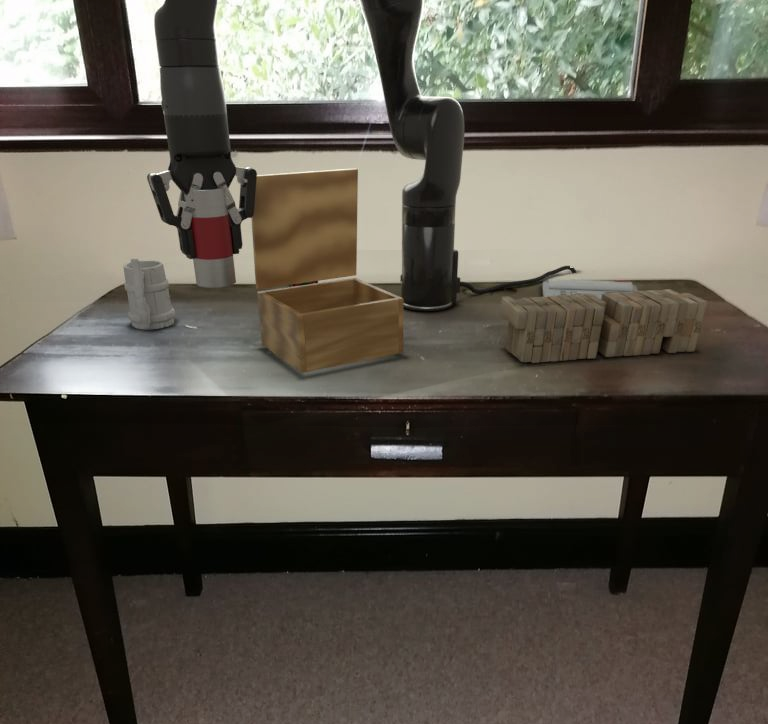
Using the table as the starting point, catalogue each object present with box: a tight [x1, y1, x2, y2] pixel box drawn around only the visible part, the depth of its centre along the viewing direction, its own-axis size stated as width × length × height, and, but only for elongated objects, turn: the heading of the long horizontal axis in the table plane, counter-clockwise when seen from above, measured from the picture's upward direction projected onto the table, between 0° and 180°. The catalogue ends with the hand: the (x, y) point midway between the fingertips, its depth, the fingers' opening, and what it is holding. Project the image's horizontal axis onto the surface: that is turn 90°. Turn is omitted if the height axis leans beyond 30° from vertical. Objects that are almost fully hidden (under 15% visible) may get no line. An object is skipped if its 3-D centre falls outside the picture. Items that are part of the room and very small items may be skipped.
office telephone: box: [542, 278, 639, 299], centre depth 132 cm, size 23×3×20 cm
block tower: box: [499, 288, 708, 364], centre depth 108 cm, size 8×8×29 cm
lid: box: [250, 167, 359, 290], centre depth 108 cm, size 15×17×5 cm
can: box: [184, 188, 237, 289], centre depth 95 cm, size 5×5×12 cm
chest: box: [256, 277, 404, 374], centre depth 108 cm, size 15×17×9 cm
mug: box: [122, 258, 176, 331], centre depth 119 cm, size 8×12×12 cm, turn 7°
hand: (213, 254), depth 97 cm, fingers closed on can, 5 cm apart
